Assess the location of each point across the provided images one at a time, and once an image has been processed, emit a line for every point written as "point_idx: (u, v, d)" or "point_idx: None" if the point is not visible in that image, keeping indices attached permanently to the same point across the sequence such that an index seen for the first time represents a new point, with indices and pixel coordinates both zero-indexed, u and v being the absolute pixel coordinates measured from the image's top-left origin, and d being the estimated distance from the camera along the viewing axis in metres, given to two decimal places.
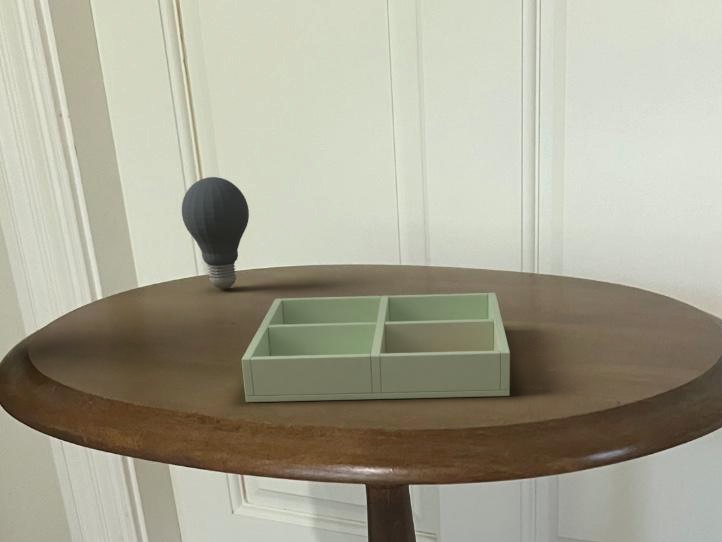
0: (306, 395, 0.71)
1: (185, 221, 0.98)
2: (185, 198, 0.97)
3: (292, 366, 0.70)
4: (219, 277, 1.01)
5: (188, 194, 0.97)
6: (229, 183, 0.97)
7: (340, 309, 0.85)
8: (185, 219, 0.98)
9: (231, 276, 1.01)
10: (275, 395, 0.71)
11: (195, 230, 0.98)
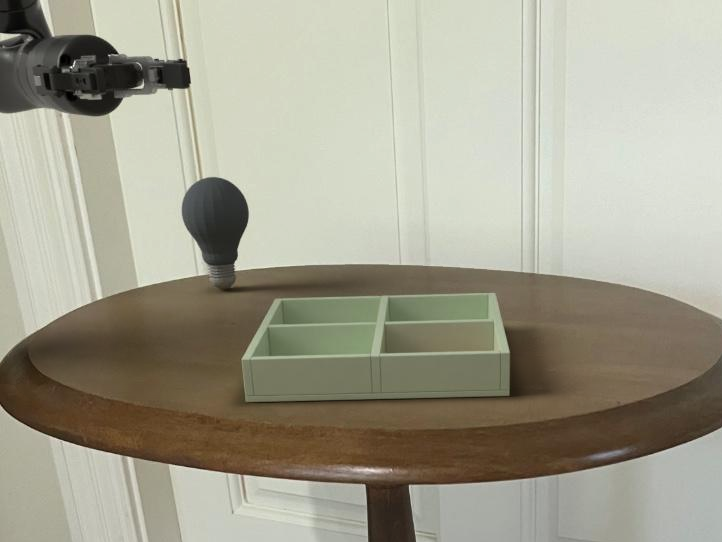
0: (306, 395, 0.71)
1: (185, 221, 0.98)
2: (185, 198, 0.97)
3: (292, 366, 0.70)
4: (219, 277, 1.01)
5: (188, 194, 0.97)
6: (229, 183, 0.97)
7: (340, 309, 0.85)
8: (185, 219, 0.98)
9: (231, 276, 1.01)
10: (275, 395, 0.71)
11: (195, 230, 0.98)
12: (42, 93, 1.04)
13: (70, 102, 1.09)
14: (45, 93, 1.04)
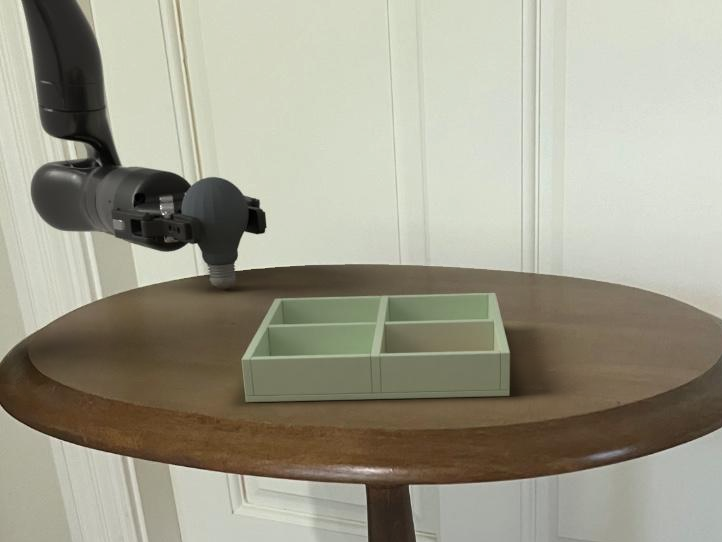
0: (306, 395, 0.71)
1: None
2: (185, 198, 0.97)
3: (292, 366, 0.70)
4: (219, 277, 1.01)
5: (188, 194, 0.97)
6: (229, 183, 0.97)
7: (340, 309, 0.85)
8: None
9: (231, 276, 1.01)
10: (275, 395, 0.71)
11: None
12: (125, 238, 1.00)
13: None
14: (131, 238, 1.00)
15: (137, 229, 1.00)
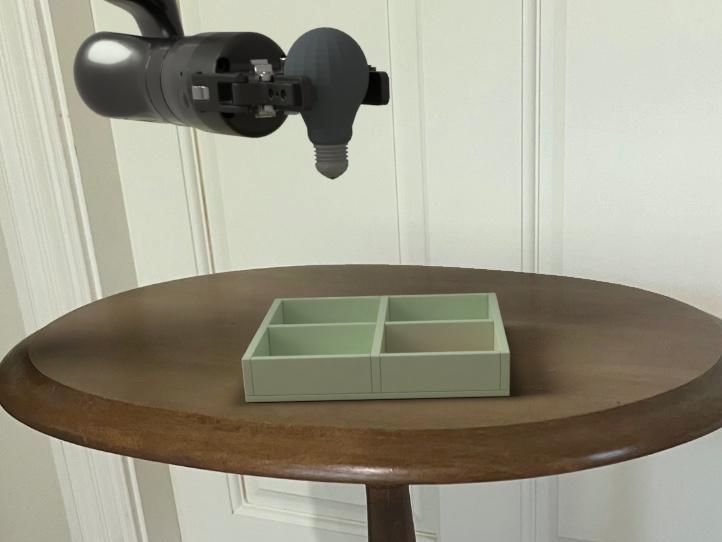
0: (306, 395, 0.71)
1: None
2: (290, 54, 0.75)
3: (292, 366, 0.70)
4: (329, 161, 0.79)
5: (295, 48, 0.75)
6: (347, 35, 0.75)
7: (340, 309, 0.85)
8: None
9: (344, 160, 0.79)
10: (275, 395, 0.71)
11: None
12: (209, 109, 0.78)
13: (226, 120, 0.84)
14: (217, 109, 0.78)
15: (225, 97, 0.77)
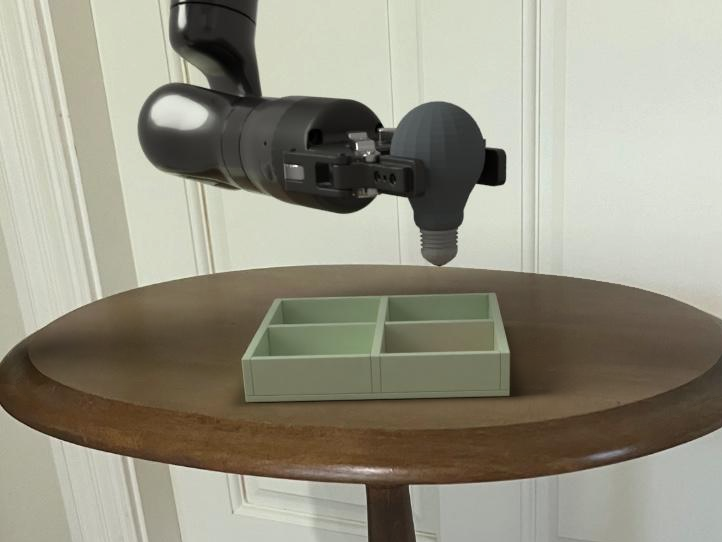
0: (306, 395, 0.71)
1: None
2: (399, 132, 0.67)
3: (292, 366, 0.70)
4: (438, 248, 0.70)
5: (405, 126, 0.66)
6: (463, 110, 0.67)
7: (340, 309, 0.85)
8: None
9: (454, 247, 0.71)
10: (275, 395, 0.71)
11: None
12: (304, 191, 0.70)
13: (316, 196, 0.75)
14: (313, 192, 0.69)
15: (323, 178, 0.69)
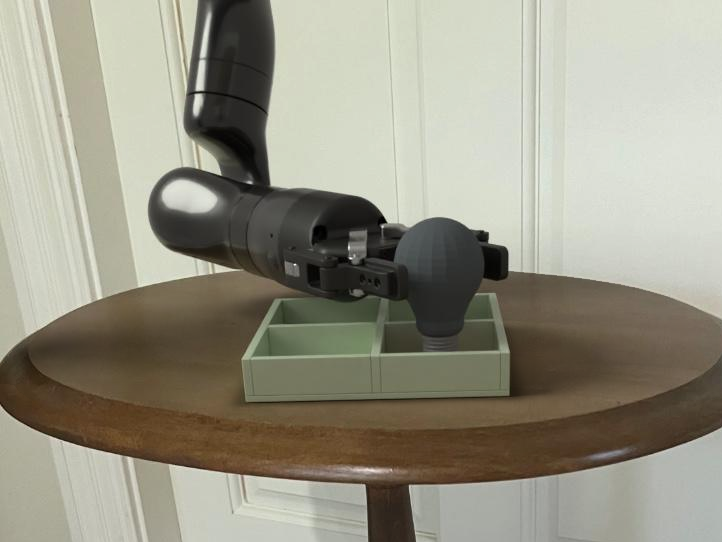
0: (306, 395, 0.71)
1: None
2: (402, 247, 0.70)
3: (292, 366, 0.70)
4: None
5: (408, 241, 0.70)
6: (463, 226, 0.70)
7: (340, 309, 0.85)
8: None
9: (454, 351, 0.74)
10: (275, 395, 0.71)
11: (416, 291, 0.70)
12: (299, 288, 0.73)
13: None
14: (306, 289, 0.72)
15: (315, 277, 0.72)
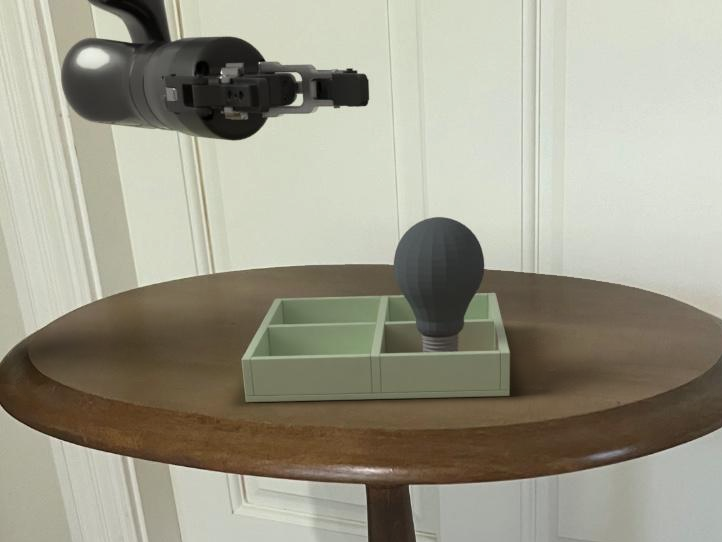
0: (306, 395, 0.71)
1: (401, 278, 0.71)
2: (402, 247, 0.70)
3: (292, 366, 0.70)
4: None
5: (407, 241, 0.70)
6: (463, 226, 0.70)
7: (340, 309, 0.85)
8: (401, 275, 0.70)
9: (454, 351, 0.74)
10: (275, 395, 0.71)
11: (416, 291, 0.70)
12: (178, 110, 0.80)
13: (205, 122, 0.85)
14: (183, 111, 0.80)
15: (191, 99, 0.79)
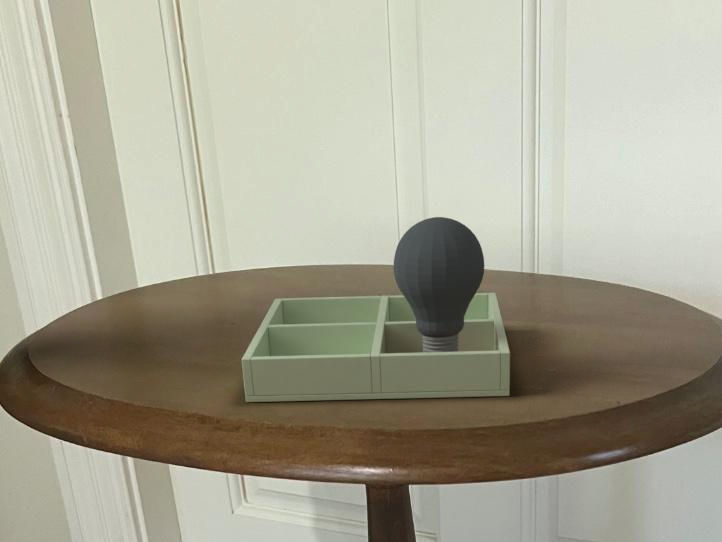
0: (306, 395, 0.71)
1: (401, 278, 0.71)
2: (402, 247, 0.70)
3: (292, 366, 0.70)
4: None
5: (407, 241, 0.70)
6: (463, 226, 0.70)
7: (340, 309, 0.85)
8: (401, 275, 0.70)
9: (454, 351, 0.74)
10: (275, 395, 0.71)
11: (416, 291, 0.70)
12: None
13: None
14: None
15: None
